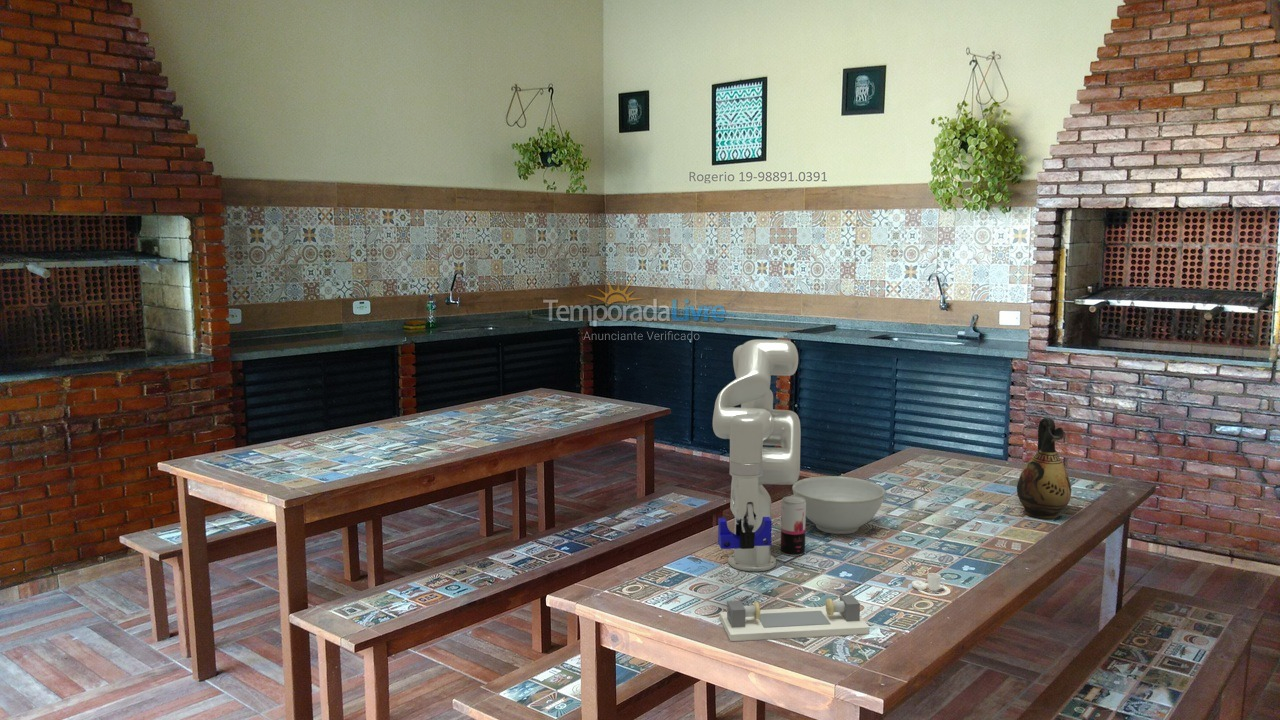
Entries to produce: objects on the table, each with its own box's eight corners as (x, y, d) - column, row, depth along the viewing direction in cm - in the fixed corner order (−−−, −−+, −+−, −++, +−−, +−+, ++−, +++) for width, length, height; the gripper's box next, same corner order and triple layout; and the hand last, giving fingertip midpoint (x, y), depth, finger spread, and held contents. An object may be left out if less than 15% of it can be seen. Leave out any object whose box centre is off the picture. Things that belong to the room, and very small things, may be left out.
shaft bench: (719, 618, 213) (719, 594, 212) (850, 611, 216) (851, 587, 216) (730, 641, 201) (730, 615, 200) (869, 633, 205) (870, 608, 204)
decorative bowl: (876, 515, 288) (877, 477, 286) (890, 544, 262) (892, 502, 260) (788, 512, 291) (789, 474, 289) (794, 541, 264) (795, 500, 263)
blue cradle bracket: (721, 548, 214) (721, 523, 214) (718, 542, 219) (718, 517, 218) (772, 547, 215) (773, 522, 214) (768, 541, 220) (769, 516, 219)
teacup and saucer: (907, 590, 230) (908, 574, 229) (923, 581, 235) (924, 566, 235) (940, 600, 224) (941, 584, 223) (956, 591, 229) (957, 575, 229)
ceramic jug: (1078, 522, 280) (1085, 425, 276) (1026, 522, 281) (1032, 425, 276) (1054, 505, 297) (1060, 413, 293) (1006, 505, 297) (1011, 413, 293)
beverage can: (804, 557, 252) (805, 503, 249) (779, 555, 253) (780, 502, 251) (805, 549, 258) (806, 496, 256) (781, 547, 259) (782, 495, 257)
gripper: (723, 459, 222) (722, 533, 225) (737, 478, 206) (736, 557, 208) (754, 458, 223) (753, 532, 226) (770, 477, 206) (768, 556, 209)
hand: (744, 543), depth 217 cm, fingers closed on blue cradle bracket, 4 cm apart
